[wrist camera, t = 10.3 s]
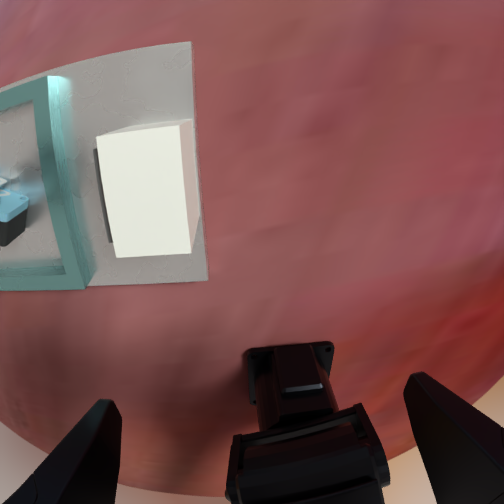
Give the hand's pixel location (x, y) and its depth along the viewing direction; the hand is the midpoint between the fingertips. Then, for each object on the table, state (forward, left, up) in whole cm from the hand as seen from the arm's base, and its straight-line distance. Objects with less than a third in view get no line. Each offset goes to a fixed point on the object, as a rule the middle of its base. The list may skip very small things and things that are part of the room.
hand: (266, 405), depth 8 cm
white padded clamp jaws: (+5, +15, -11) cm, 19 cm away
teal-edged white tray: (+5, +15, -12) cm, 20 cm away
